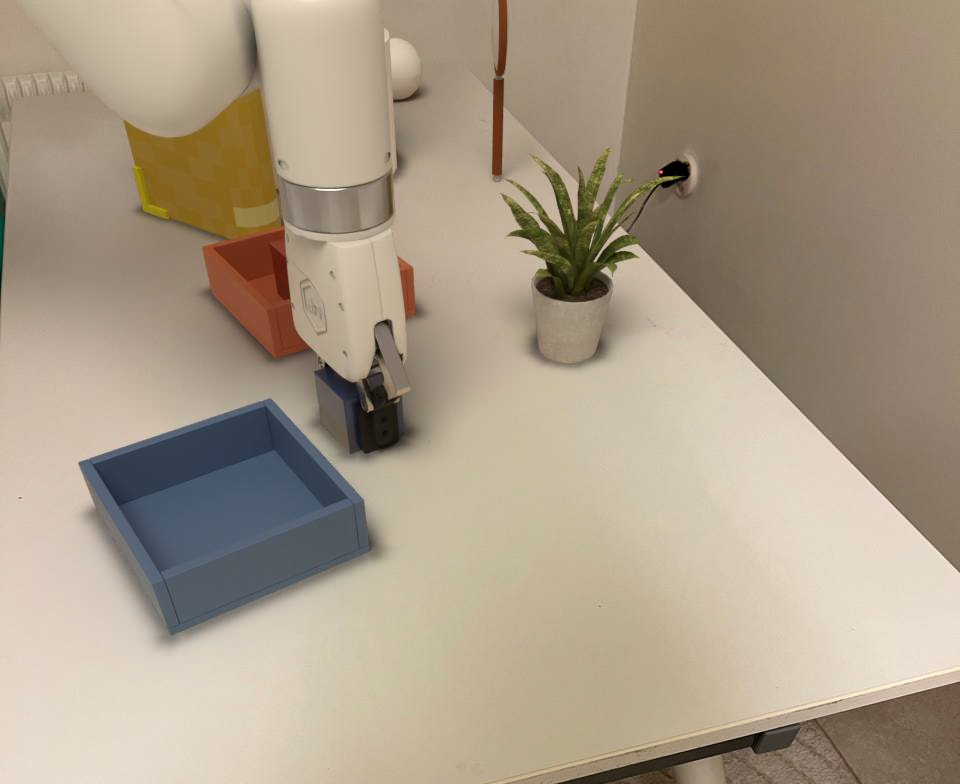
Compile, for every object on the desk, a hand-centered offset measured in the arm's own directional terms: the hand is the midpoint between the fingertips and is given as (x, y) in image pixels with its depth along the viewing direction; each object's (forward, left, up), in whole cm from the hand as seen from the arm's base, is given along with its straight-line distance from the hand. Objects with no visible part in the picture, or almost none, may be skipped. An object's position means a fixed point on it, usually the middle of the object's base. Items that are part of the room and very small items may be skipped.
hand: (362, 426), depth 73 cm
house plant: (+23, +1, -1) cm, 23 cm away
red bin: (+6, +21, 0) cm, 22 cm away
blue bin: (-14, -6, 0) cm, 15 cm away
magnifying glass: (+38, +36, -1) cm, 52 cm away
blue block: (0, 0, 0) cm, 0 cm away
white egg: (+42, +69, -1) cm, 81 cm away
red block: (+6, +21, 0) cm, 22 cm away
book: (+6, +44, -1) cm, 44 cm away
